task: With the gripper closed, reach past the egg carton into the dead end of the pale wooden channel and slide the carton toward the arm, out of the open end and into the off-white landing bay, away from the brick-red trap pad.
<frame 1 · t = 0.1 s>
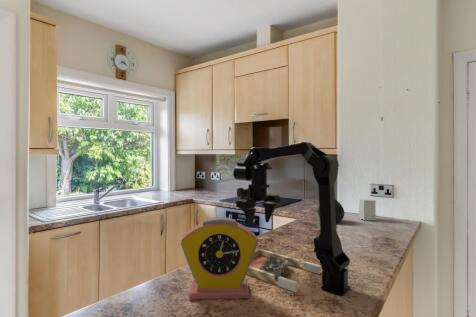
hand: (258, 224, 101), 15 cm above the worktop, tool pointing down, fingers open, 9 cm apart
supplement box: (366, 220, 172), on the worktop
landing bay: (300, 279, 89), on the worktop
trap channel: (265, 267, 98), on the worktop
squash: (331, 221, 167), on the worktop
retro mantel clock: (219, 292, 81), on the worktop
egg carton: (274, 271, 96), on the worktop
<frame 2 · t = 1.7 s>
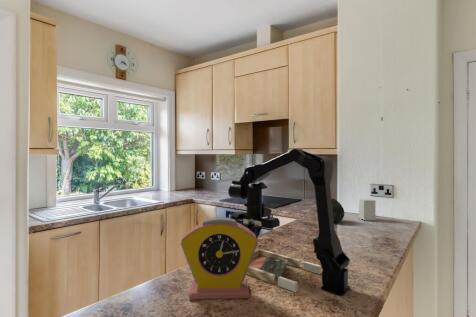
hand: (254, 243, 101), 8 cm above the worktop, tool pointing down, fingers closed
nothing on the worktop moved.
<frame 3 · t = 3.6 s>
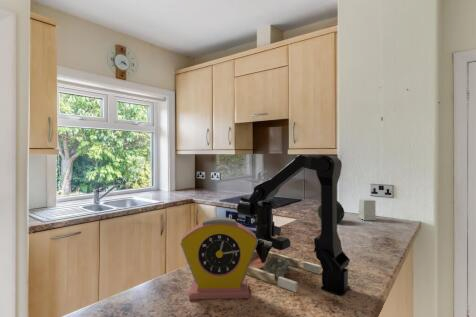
hand: (263, 262, 98), 2 cm above the worktop, tool pointing down, fingers closed
nothing on the worktop moved.
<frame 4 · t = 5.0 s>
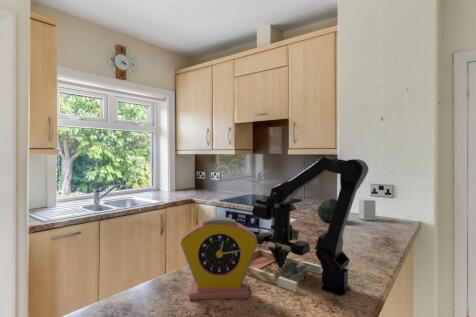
hand: (280, 268, 94), 2 cm above the worktop, tool pointing down, fingers closed
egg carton: (293, 278, 91), on the worktop, touching gripper
everything else where it was.
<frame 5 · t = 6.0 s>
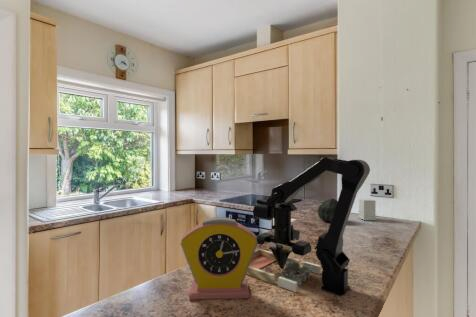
hand: (282, 268, 94), 2 cm above the worktop, tool pointing down, fingers closed
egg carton: (295, 279, 90), on the worktop
everything else where it was.
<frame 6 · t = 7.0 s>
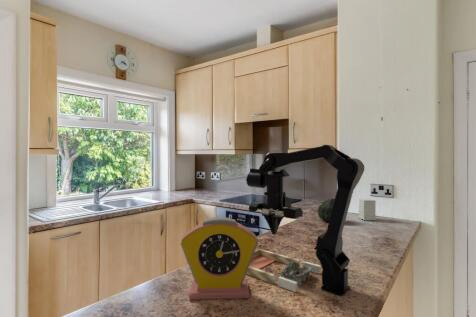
hand: (274, 234, 95), 13 cm above the worktop, tool pointing down, fingers closed
nothing on the worktop moved.
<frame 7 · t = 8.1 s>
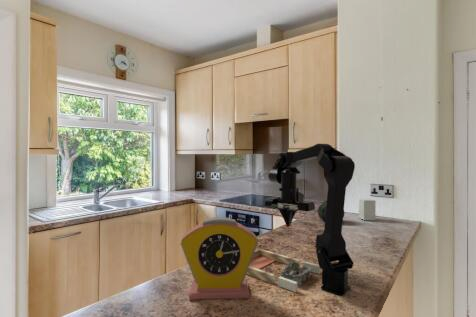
hand: (288, 226, 104), 13 cm above the worktop, tool pointing down, fingers closed
nothing on the worktop moved.
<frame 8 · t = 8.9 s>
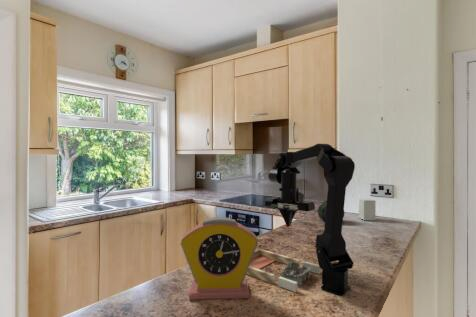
hand: (288, 226, 104), 13 cm above the worktop, tool pointing down, fingers closed
nothing on the worktop moved.
at the end: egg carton inside the target area (1.1 cm from its centre), on the worktop; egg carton tilted 0°; the gripper is holding nothing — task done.
